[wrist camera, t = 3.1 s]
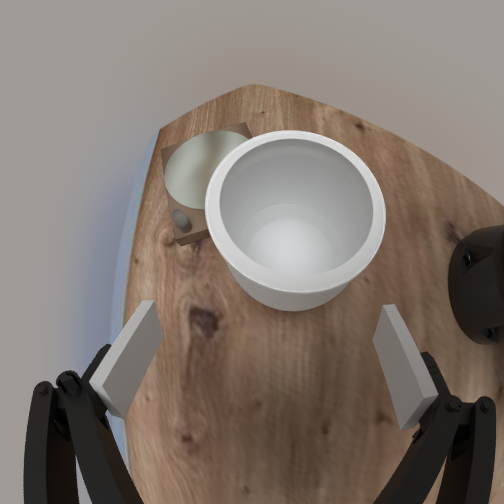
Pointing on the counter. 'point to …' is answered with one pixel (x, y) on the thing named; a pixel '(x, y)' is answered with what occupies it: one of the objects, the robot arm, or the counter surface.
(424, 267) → the counter surface
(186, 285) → the counter surface
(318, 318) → the counter surface
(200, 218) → the seat board
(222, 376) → the counter surface
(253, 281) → the jar
